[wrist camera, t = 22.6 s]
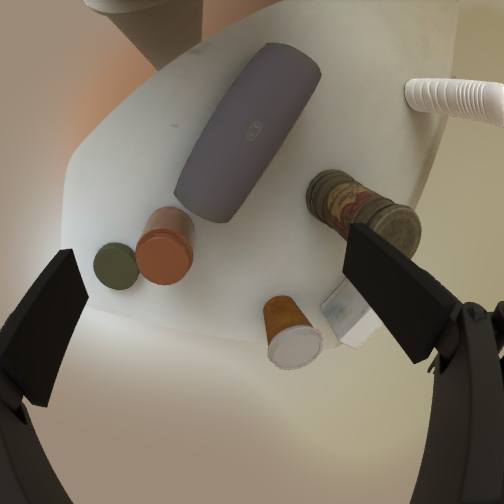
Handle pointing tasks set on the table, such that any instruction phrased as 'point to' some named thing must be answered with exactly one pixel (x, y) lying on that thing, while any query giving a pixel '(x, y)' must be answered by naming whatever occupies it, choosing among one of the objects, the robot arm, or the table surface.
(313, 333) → the disposable coffee cup
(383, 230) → the container
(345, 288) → the cosmetics box
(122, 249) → the lid
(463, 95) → the water bottle
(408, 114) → the table surface
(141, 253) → the jar
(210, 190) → the bluetooth speaker
